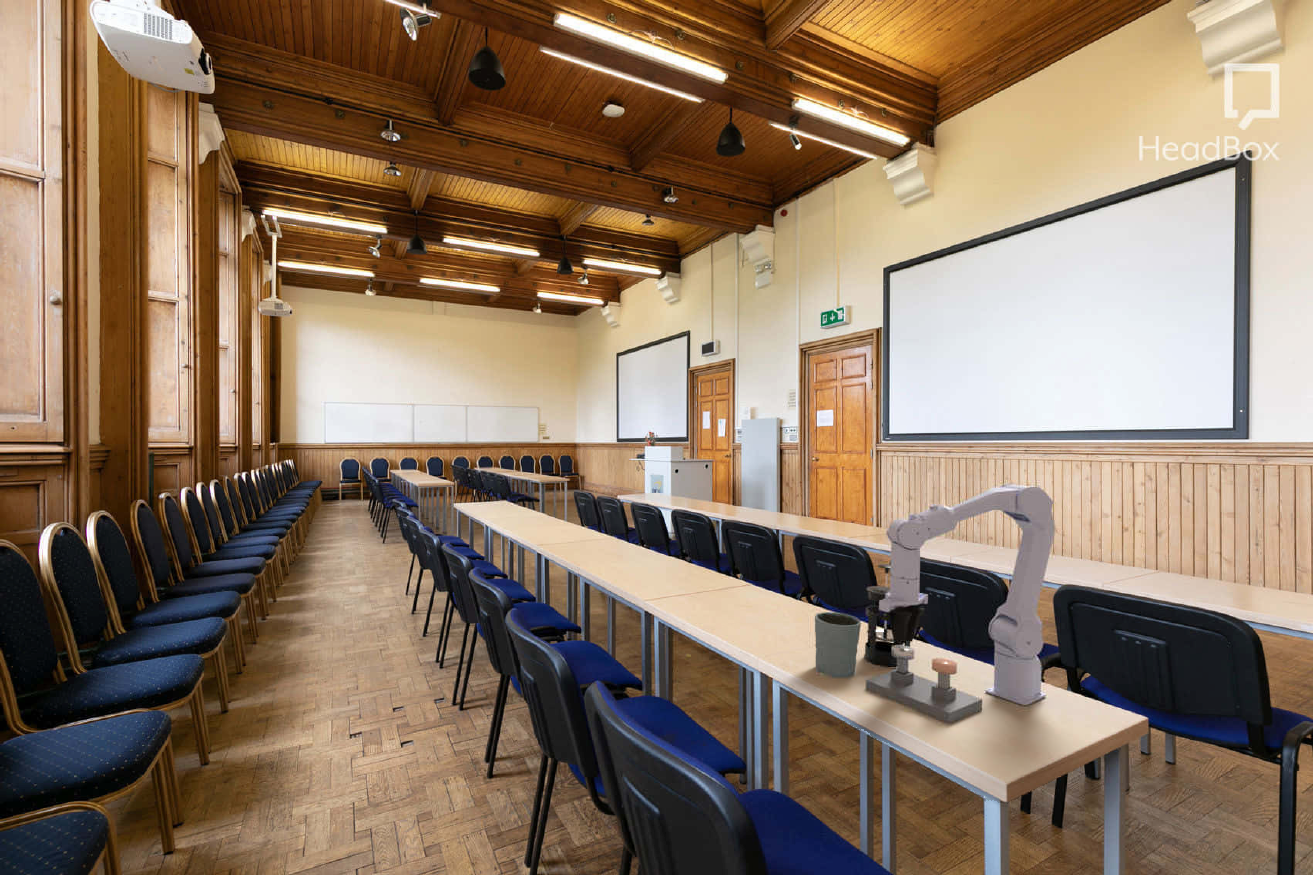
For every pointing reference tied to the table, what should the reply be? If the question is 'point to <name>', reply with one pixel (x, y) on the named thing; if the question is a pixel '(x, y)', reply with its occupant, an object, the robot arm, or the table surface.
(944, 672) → the peach knob
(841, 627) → the grey green cup
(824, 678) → the table surface
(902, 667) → the steel plunger
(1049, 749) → the table surface
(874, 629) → the french press
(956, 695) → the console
